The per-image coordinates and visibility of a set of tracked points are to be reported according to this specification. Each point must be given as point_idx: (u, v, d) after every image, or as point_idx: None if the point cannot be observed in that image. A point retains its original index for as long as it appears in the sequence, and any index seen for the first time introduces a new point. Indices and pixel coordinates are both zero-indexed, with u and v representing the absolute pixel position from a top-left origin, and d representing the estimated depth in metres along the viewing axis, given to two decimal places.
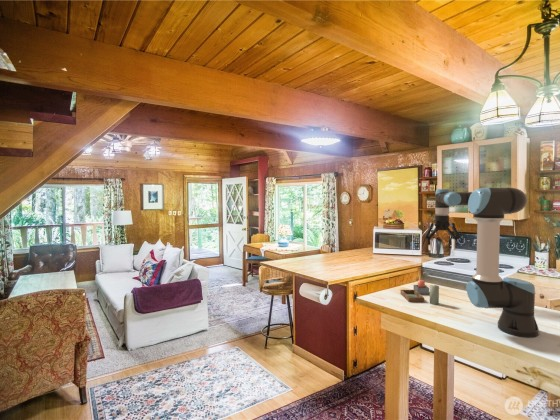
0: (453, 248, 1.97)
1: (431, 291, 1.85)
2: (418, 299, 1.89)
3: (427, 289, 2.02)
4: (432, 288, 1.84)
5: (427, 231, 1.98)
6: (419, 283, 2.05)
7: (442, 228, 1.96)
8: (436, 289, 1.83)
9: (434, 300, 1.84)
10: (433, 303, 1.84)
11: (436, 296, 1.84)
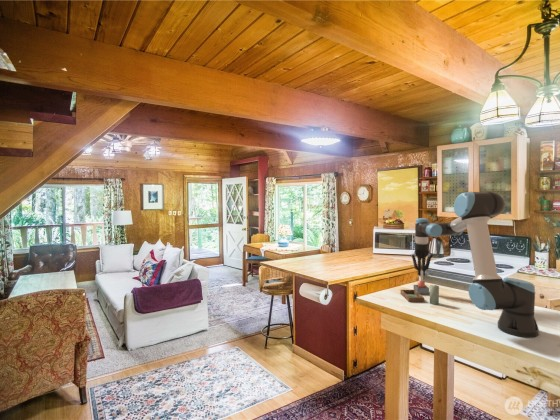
0: None
1: (431, 291, 1.85)
2: (418, 299, 1.89)
3: (427, 289, 2.02)
4: (432, 288, 1.84)
5: (414, 263, 2.05)
6: (419, 283, 2.05)
7: (421, 256, 2.04)
8: (436, 289, 1.83)
9: (434, 300, 1.84)
10: (433, 303, 1.84)
11: (436, 296, 1.84)
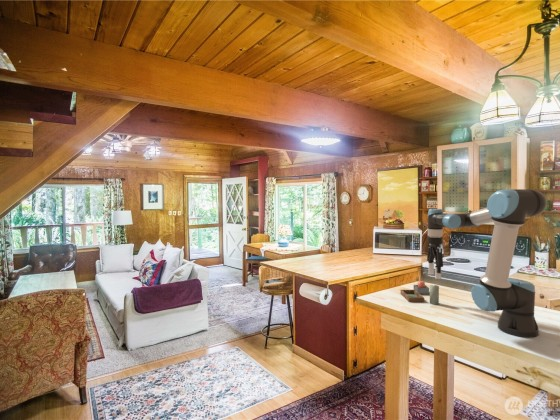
0: None
1: (431, 291, 1.85)
2: (418, 299, 1.89)
3: (427, 289, 2.02)
4: (432, 288, 1.84)
5: (429, 253, 1.92)
6: (419, 284, 2.05)
7: (432, 250, 1.85)
8: (436, 289, 1.83)
9: (434, 300, 1.84)
10: (433, 303, 1.84)
11: (436, 296, 1.84)
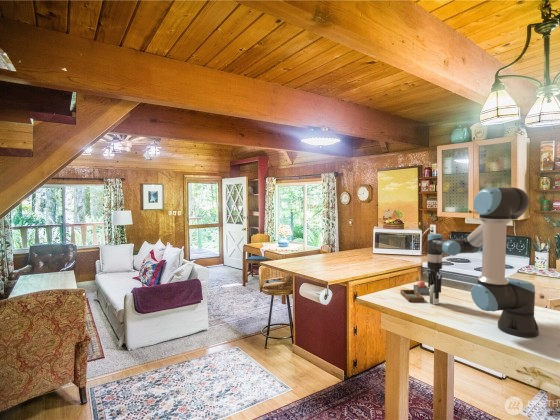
0: None
1: (431, 291, 1.85)
2: (418, 299, 1.89)
3: (427, 289, 2.02)
4: (432, 288, 1.84)
5: None
6: (419, 284, 2.05)
7: (432, 275, 1.85)
8: None
9: None
10: None
11: None
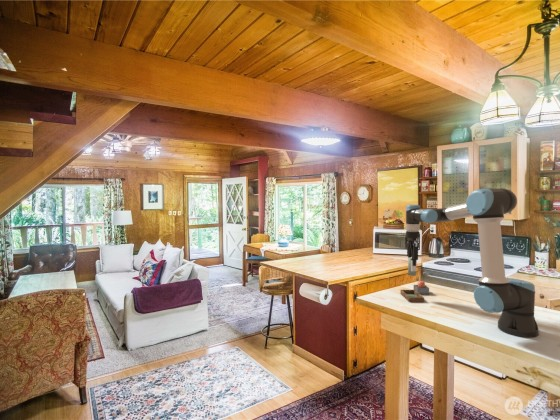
0: None
1: (409, 263, 1.95)
2: (418, 299, 1.89)
3: (427, 289, 2.02)
4: (410, 260, 1.94)
5: None
6: (419, 284, 2.05)
7: None
8: None
9: (412, 271, 1.94)
10: (411, 274, 1.94)
11: None
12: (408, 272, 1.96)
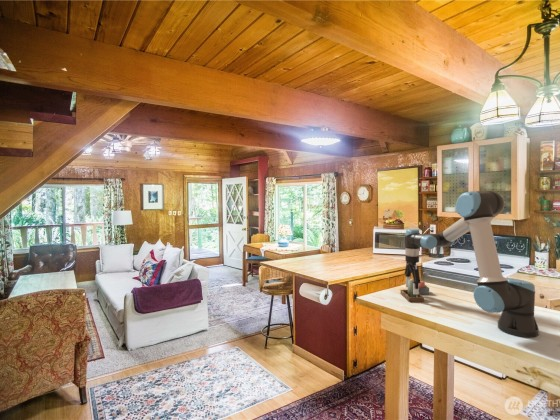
0: None
1: (408, 285, 1.96)
2: (418, 299, 1.89)
3: (427, 289, 2.02)
4: (409, 282, 1.95)
5: (407, 268, 2.04)
6: (419, 284, 2.05)
7: (410, 268, 1.96)
8: None
9: (411, 293, 1.95)
10: None
11: None
12: (408, 294, 1.96)
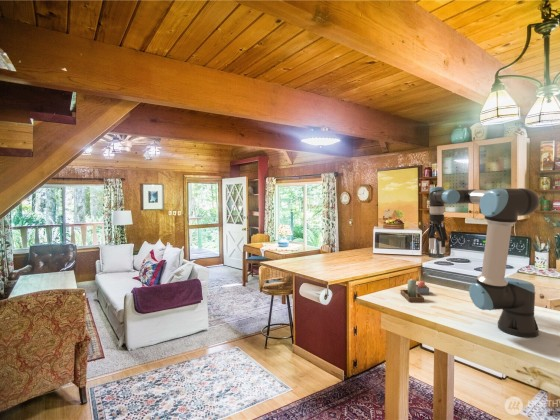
0: (440, 250, 1.83)
1: (409, 285, 1.96)
2: (418, 299, 1.89)
3: (427, 289, 2.02)
4: (409, 282, 1.95)
5: None
6: (419, 284, 2.05)
7: (434, 228, 1.89)
8: (413, 283, 1.94)
9: (411, 293, 1.95)
10: (410, 296, 1.95)
11: (413, 290, 1.94)
12: (408, 294, 1.97)
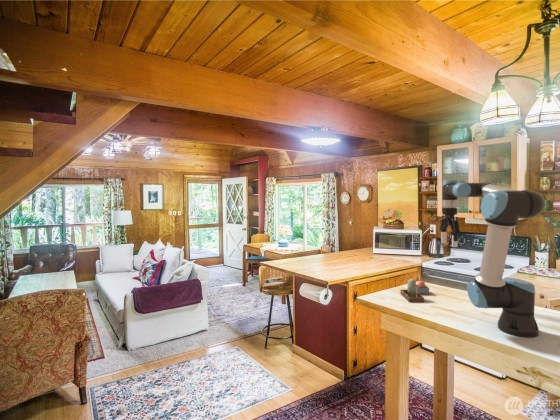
0: (452, 244, 1.80)
1: (408, 285, 1.95)
2: (418, 299, 1.89)
3: (427, 289, 2.02)
4: (409, 282, 1.95)
5: None
6: (419, 284, 2.05)
7: (447, 221, 1.86)
8: (413, 283, 1.94)
9: (411, 293, 1.95)
10: None
11: (413, 290, 1.94)
12: None
